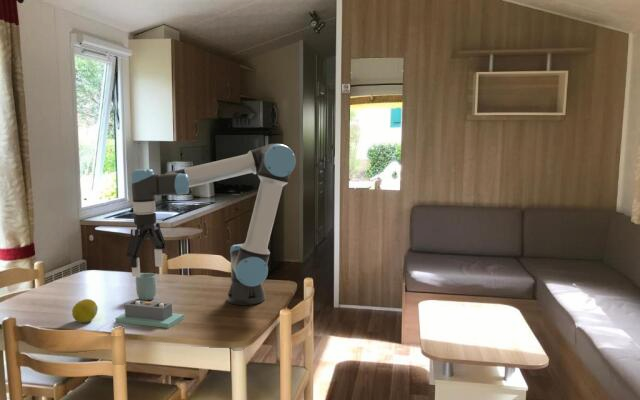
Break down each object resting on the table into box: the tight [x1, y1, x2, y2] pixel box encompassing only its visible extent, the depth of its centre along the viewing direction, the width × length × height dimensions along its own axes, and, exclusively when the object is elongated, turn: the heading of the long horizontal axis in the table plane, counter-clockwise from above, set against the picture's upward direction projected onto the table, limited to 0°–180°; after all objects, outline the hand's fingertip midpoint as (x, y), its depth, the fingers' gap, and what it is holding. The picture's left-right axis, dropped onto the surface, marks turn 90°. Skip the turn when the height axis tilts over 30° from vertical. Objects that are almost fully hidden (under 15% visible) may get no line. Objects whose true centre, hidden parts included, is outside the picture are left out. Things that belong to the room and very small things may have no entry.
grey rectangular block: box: [124, 299, 173, 321], centre depth 188 cm, size 16×6×5 cm, turn 73°
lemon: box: [71, 298, 98, 324], centre depth 188 cm, size 11×8×8 cm
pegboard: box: [115, 300, 185, 329], centre depth 188 cm, size 22×10×6 cm, turn 73°
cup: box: [135, 272, 157, 301], centre depth 212 cm, size 8×8×10 cm
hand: (148, 271), depth 186 cm, fingers open, 13 cm apart
